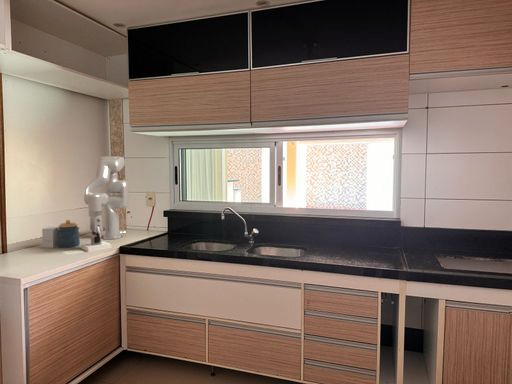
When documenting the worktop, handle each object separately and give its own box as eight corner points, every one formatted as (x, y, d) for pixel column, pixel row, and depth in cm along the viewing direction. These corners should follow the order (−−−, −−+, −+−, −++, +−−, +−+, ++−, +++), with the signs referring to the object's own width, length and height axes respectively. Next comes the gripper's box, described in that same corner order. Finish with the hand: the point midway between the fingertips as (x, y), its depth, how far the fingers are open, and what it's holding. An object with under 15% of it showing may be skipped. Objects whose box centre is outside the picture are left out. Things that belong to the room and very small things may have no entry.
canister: (68, 249, 218) (67, 221, 217) (52, 248, 222) (51, 221, 221) (84, 245, 230) (83, 219, 229) (69, 243, 234) (68, 218, 233)
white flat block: (103, 245, 228) (103, 241, 228) (111, 248, 220) (111, 244, 220) (81, 249, 218) (81, 244, 218) (88, 252, 210) (88, 247, 210)
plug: (99, 246, 222) (99, 233, 222) (101, 246, 220) (101, 234, 219) (91, 247, 219) (90, 234, 218) (93, 248, 216) (92, 235, 216)
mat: (78, 250, 216) (78, 249, 216) (84, 252, 209) (84, 251, 209) (61, 252, 209) (61, 252, 209) (66, 255, 202) (66, 254, 202)
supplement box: (60, 245, 229) (60, 226, 229) (53, 248, 222) (52, 228, 221) (50, 245, 230) (49, 226, 229) (42, 247, 223) (41, 228, 222)
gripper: (106, 214, 214) (107, 243, 216) (96, 211, 226) (97, 239, 228) (93, 215, 209) (94, 245, 210) (84, 212, 221) (85, 241, 223)
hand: (96, 241), depth 219 cm, fingers closed on plug, 3 cm apart
